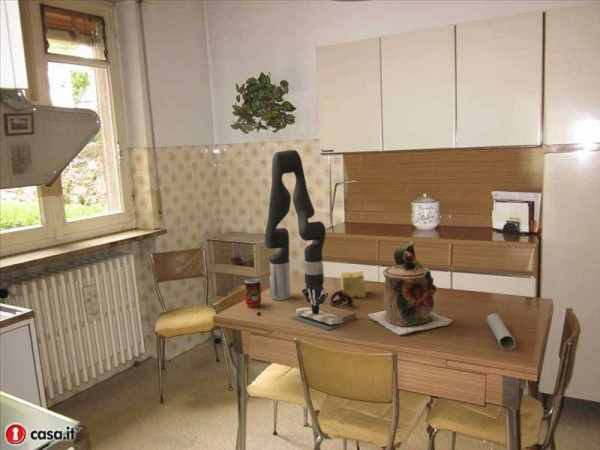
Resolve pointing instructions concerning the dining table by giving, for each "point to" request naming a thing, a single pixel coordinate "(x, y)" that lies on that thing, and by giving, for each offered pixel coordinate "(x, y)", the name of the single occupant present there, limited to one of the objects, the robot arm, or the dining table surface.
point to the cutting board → (346, 315)
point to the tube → (501, 332)
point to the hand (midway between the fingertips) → (315, 313)
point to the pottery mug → (341, 298)
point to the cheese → (353, 284)
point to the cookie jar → (408, 295)
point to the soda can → (252, 292)
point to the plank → (320, 316)
